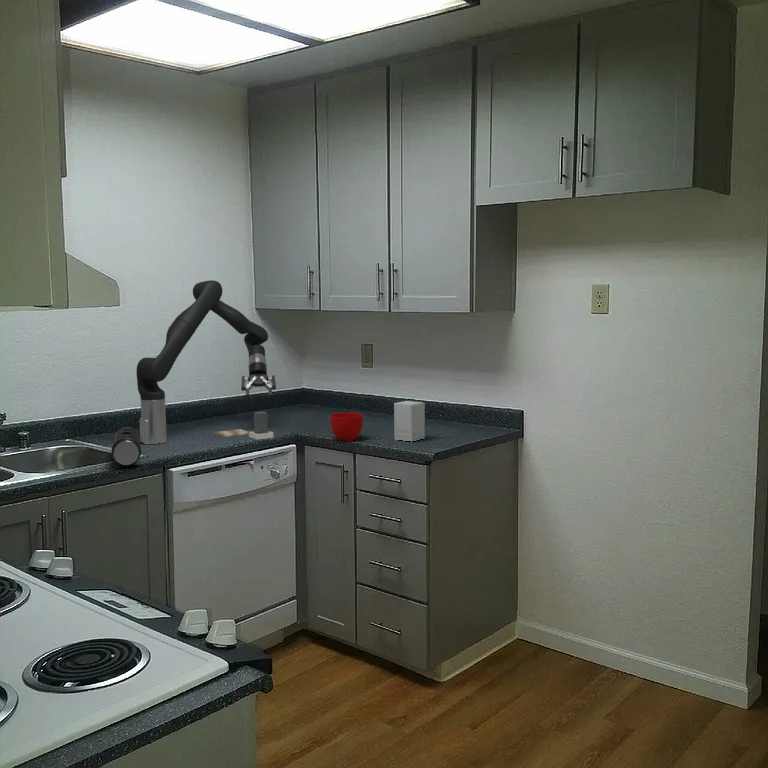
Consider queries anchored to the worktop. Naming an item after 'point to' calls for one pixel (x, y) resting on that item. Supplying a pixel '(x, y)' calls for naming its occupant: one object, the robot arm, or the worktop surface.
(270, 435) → the socket dock
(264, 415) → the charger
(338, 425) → the ceramic cup
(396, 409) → the supplement box
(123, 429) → the muzzle brake
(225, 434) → the oak board
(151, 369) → the robot arm
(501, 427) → the worktop surface
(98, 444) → the worktop surface
